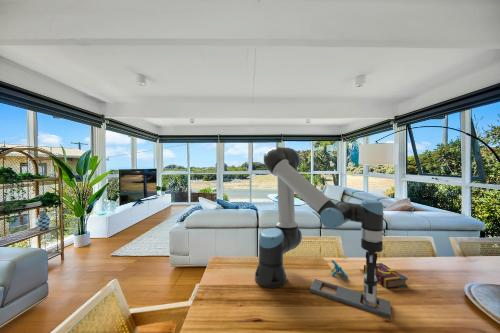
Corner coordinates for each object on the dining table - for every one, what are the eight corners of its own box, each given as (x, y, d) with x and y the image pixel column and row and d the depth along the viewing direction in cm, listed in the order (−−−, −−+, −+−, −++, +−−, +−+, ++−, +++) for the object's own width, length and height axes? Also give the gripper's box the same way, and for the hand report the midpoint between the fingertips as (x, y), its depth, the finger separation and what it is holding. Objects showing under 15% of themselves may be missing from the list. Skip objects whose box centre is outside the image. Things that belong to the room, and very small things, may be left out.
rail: (309, 291, 94) (309, 288, 94) (315, 281, 102) (315, 278, 102) (390, 318, 79) (391, 314, 79) (389, 304, 86) (390, 301, 86)
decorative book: (387, 290, 97) (387, 279, 97) (361, 272, 112) (361, 262, 112) (407, 287, 99) (407, 276, 99) (379, 269, 115) (379, 260, 115)
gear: (351, 279, 101) (335, 262, 103) (342, 287, 102) (326, 270, 104) (345, 271, 112) (331, 256, 114) (337, 278, 113) (323, 263, 115)
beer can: (360, 301, 88) (361, 272, 88) (371, 300, 89) (372, 272, 88) (367, 309, 84) (368, 279, 83) (379, 308, 84) (380, 278, 84)
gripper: (383, 252, 73) (382, 313, 73) (382, 232, 94) (381, 279, 95) (358, 247, 77) (357, 305, 77) (363, 229, 98) (362, 275, 98)
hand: (370, 291), depth 86 cm, fingers open, 13 cm apart
